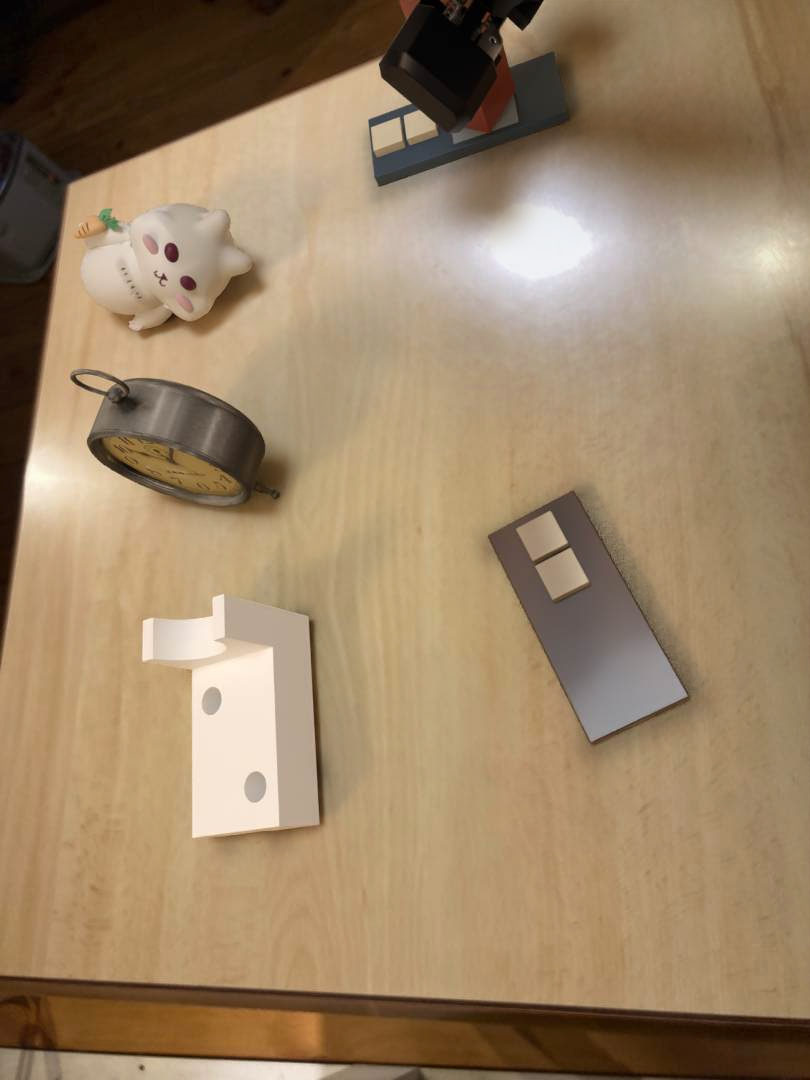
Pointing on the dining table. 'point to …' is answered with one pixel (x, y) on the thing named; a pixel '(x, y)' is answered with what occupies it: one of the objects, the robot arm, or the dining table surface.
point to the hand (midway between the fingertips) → (444, 42)
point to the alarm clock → (177, 440)
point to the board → (586, 619)
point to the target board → (421, 144)
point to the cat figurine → (159, 262)
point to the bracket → (245, 714)
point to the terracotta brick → (498, 92)
